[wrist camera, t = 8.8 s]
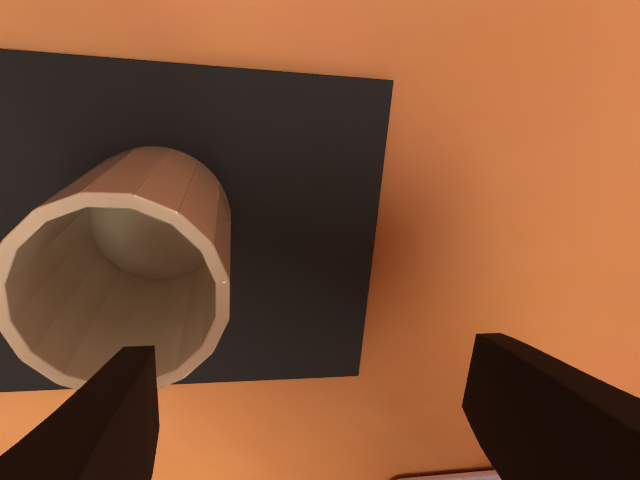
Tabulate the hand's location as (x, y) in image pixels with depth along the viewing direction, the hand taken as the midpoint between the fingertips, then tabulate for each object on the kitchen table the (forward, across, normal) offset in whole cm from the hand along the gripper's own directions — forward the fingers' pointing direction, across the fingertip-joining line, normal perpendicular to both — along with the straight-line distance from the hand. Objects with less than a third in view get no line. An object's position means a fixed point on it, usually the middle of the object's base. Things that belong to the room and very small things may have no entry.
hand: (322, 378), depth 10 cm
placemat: (+9, +5, 0) cm, 10 cm away
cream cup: (+9, +5, -1) cm, 10 cm away
